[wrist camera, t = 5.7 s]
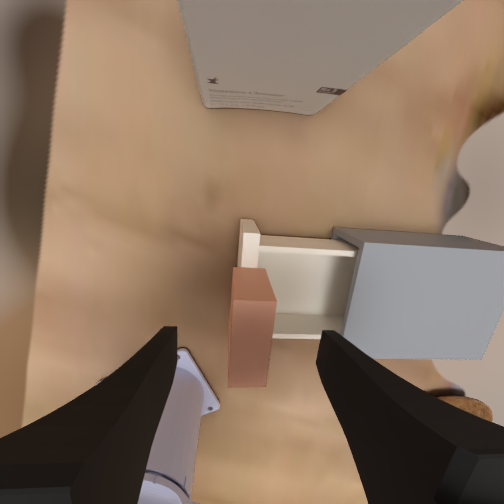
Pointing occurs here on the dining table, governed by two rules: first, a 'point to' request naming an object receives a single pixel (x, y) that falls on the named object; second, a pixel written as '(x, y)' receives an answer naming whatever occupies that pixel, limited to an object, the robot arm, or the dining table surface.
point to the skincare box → (296, 47)
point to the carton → (422, 294)
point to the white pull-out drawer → (283, 296)
